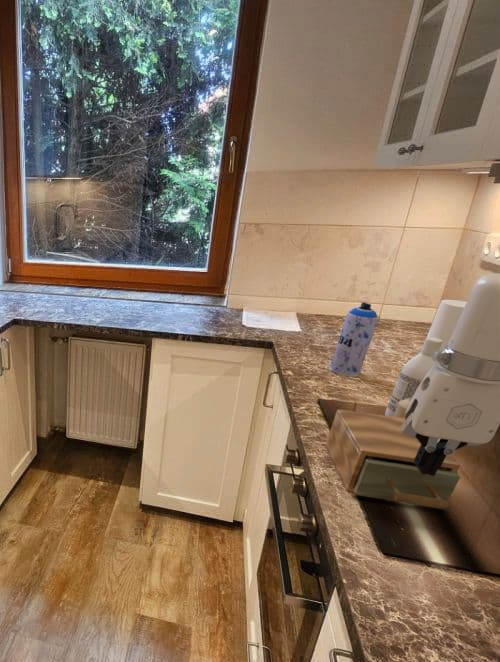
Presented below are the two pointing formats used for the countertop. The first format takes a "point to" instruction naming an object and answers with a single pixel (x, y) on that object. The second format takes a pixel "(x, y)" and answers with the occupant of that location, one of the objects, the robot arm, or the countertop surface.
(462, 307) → the cylindrical container
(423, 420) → the robot arm
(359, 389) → the countertop surface
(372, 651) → the countertop surface
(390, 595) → the countertop surface
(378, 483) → the drawer
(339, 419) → the cabinet
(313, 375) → the countertop surface
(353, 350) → the aerosol can
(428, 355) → the bath foam
